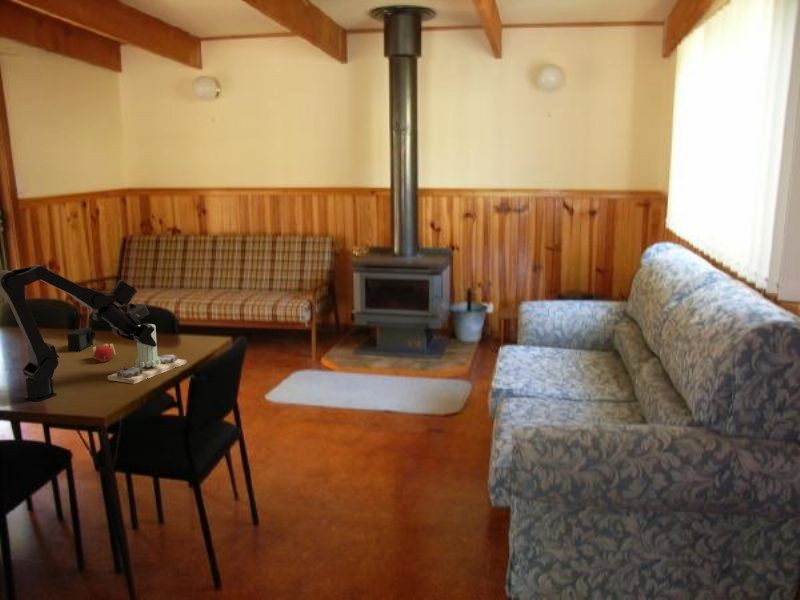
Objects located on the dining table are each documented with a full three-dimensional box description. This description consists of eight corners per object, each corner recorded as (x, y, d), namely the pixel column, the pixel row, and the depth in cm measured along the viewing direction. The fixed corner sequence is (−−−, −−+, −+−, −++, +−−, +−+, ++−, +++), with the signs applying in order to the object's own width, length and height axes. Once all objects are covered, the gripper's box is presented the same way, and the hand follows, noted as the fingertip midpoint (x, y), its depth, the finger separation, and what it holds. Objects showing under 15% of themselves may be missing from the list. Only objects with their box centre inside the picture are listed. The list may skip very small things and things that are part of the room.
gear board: (134, 383, 214) (132, 369, 213) (107, 379, 218) (106, 365, 217) (186, 363, 237) (185, 350, 236) (162, 359, 241) (161, 347, 240)
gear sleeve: (157, 366, 223) (155, 328, 221) (132, 367, 223) (129, 329, 220) (163, 359, 231) (161, 323, 229) (138, 360, 231) (136, 323, 228)
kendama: (92, 356, 251) (89, 362, 234) (94, 339, 251) (92, 344, 234) (115, 357, 254) (113, 363, 237) (117, 341, 254) (116, 346, 237)
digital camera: (83, 352, 251) (81, 334, 250) (68, 352, 251) (67, 333, 250) (96, 345, 261) (94, 327, 260) (82, 344, 262) (81, 327, 260)
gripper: (146, 301, 214) (180, 328, 224) (118, 294, 226) (150, 320, 236) (124, 329, 209) (159, 356, 220) (96, 320, 221) (131, 346, 232)
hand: (150, 344), depth 227 cm, fingers closed on gear sleeve, 6 cm apart
